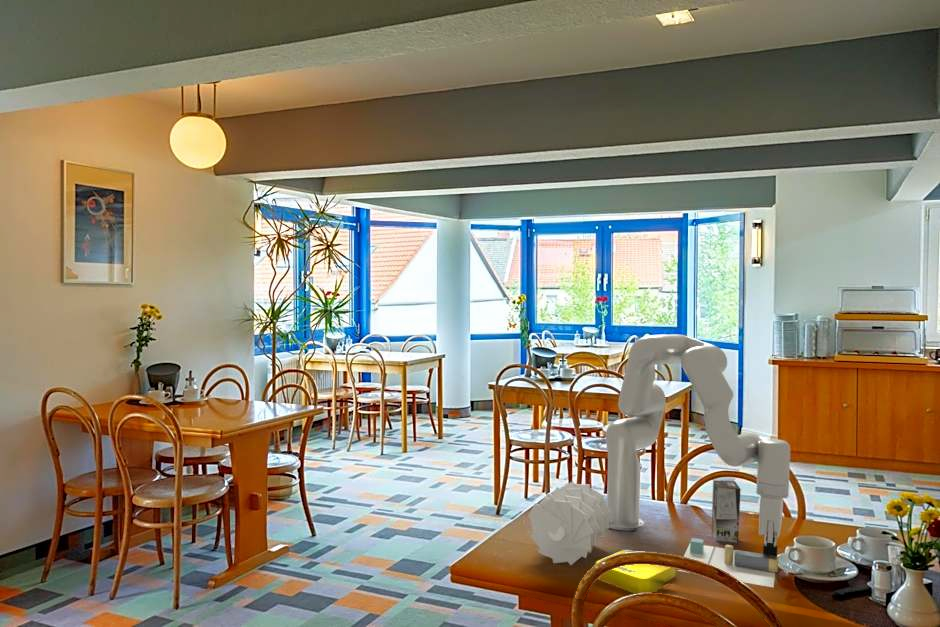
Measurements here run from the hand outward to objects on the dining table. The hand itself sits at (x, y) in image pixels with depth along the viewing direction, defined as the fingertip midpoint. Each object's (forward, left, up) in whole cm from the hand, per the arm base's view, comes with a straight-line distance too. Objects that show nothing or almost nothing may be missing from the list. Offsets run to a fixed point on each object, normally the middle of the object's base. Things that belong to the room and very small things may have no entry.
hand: (769, 560), depth 186 cm
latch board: (-10, -4, -2) cm, 11 cm away
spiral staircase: (-49, -13, -3) cm, 50 cm away
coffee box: (-13, +18, -3) cm, 22 cm away
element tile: (-29, -22, -3) cm, 37 cm away
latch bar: (-3, -4, -1) cm, 5 cm away
